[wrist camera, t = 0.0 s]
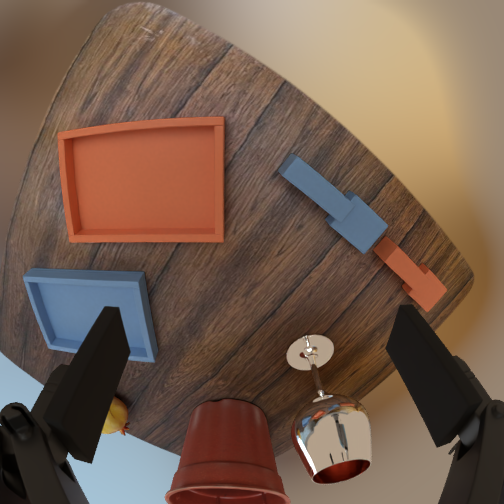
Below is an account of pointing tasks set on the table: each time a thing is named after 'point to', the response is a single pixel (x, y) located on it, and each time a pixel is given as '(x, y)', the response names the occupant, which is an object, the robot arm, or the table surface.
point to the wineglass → (328, 421)
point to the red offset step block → (411, 274)
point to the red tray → (145, 181)
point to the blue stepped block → (336, 204)
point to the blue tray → (91, 307)
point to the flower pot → (227, 458)
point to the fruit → (116, 418)
